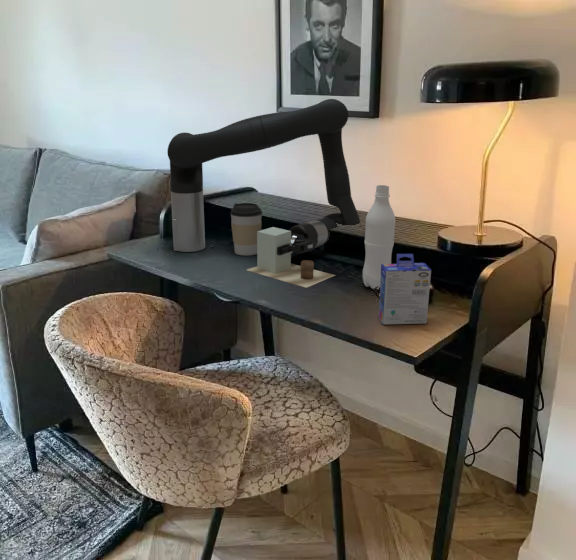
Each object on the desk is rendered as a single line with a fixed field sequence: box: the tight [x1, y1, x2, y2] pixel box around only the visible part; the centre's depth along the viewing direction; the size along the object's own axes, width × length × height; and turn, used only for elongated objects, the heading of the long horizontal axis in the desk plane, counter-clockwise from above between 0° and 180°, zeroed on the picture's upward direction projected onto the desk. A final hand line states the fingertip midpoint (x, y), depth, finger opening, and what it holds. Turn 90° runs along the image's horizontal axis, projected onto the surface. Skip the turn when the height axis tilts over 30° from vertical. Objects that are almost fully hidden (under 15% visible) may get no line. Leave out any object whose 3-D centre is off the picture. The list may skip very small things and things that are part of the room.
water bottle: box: [362, 184, 396, 290], centre depth 147 cm, size 7×7×25 cm
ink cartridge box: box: [378, 253, 432, 325], centre depth 129 cm, size 10×6×14 cm, turn 95°
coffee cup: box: [229, 202, 263, 256], centre depth 171 cm, size 9×9×15 cm
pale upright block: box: [256, 226, 292, 273], centre depth 158 cm, size 6×6×10 cm
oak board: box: [246, 259, 336, 288], centre depth 156 cm, size 20×12×5 cm, turn 50°
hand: (268, 248), depth 156 cm, fingers closed on pale upright block, 6 cm apart
